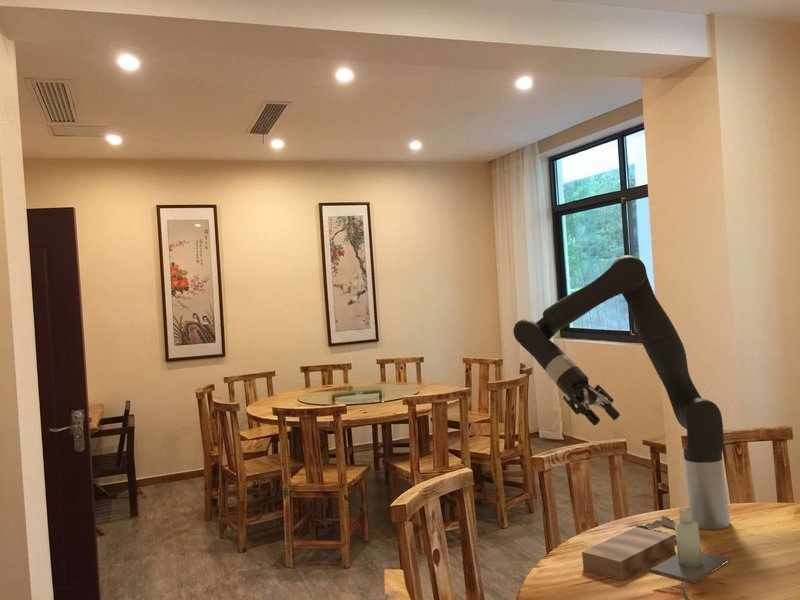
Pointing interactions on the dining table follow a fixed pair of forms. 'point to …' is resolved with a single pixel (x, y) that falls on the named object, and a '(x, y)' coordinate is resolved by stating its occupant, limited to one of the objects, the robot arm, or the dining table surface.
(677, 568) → the charcoal mat
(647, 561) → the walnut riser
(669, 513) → the dining table surface
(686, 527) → the celadon bottle
